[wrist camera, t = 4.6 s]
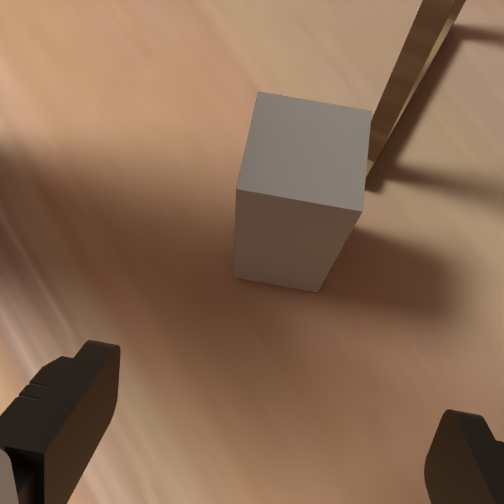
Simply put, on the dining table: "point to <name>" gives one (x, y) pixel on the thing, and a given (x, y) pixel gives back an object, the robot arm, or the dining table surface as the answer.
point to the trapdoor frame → (411, 69)
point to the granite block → (298, 189)
